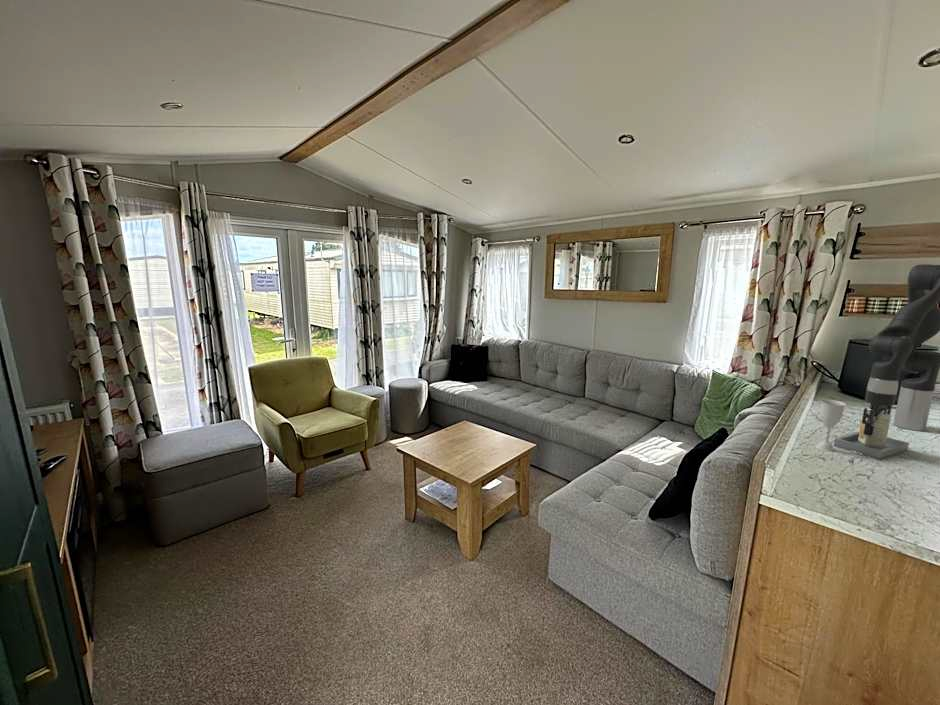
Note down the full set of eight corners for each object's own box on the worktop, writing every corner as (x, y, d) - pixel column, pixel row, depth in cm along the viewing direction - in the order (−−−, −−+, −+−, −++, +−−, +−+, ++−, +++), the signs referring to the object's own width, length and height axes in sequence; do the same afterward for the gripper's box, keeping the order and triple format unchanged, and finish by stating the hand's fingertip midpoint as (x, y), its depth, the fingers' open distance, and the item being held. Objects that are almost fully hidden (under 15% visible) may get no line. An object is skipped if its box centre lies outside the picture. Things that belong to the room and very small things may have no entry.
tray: (861, 437, 154) (862, 430, 153) (907, 450, 142) (909, 442, 142) (833, 445, 146) (835, 438, 146) (880, 460, 134) (881, 452, 134)
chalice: (842, 453, 140) (851, 406, 136) (820, 451, 141) (829, 404, 138) (828, 445, 147) (836, 399, 144) (808, 443, 148) (815, 398, 145)
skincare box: (878, 442, 145) (884, 411, 143) (885, 446, 141) (892, 415, 139) (856, 439, 147) (862, 409, 145) (863, 444, 143) (869, 413, 141)
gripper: (877, 386, 146) (869, 427, 149) (857, 390, 141) (849, 432, 144) (905, 391, 140) (896, 433, 143) (885, 395, 134) (876, 440, 137)
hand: (873, 433), depth 143 cm, fingers closed on skincare box, 7 cm apart
